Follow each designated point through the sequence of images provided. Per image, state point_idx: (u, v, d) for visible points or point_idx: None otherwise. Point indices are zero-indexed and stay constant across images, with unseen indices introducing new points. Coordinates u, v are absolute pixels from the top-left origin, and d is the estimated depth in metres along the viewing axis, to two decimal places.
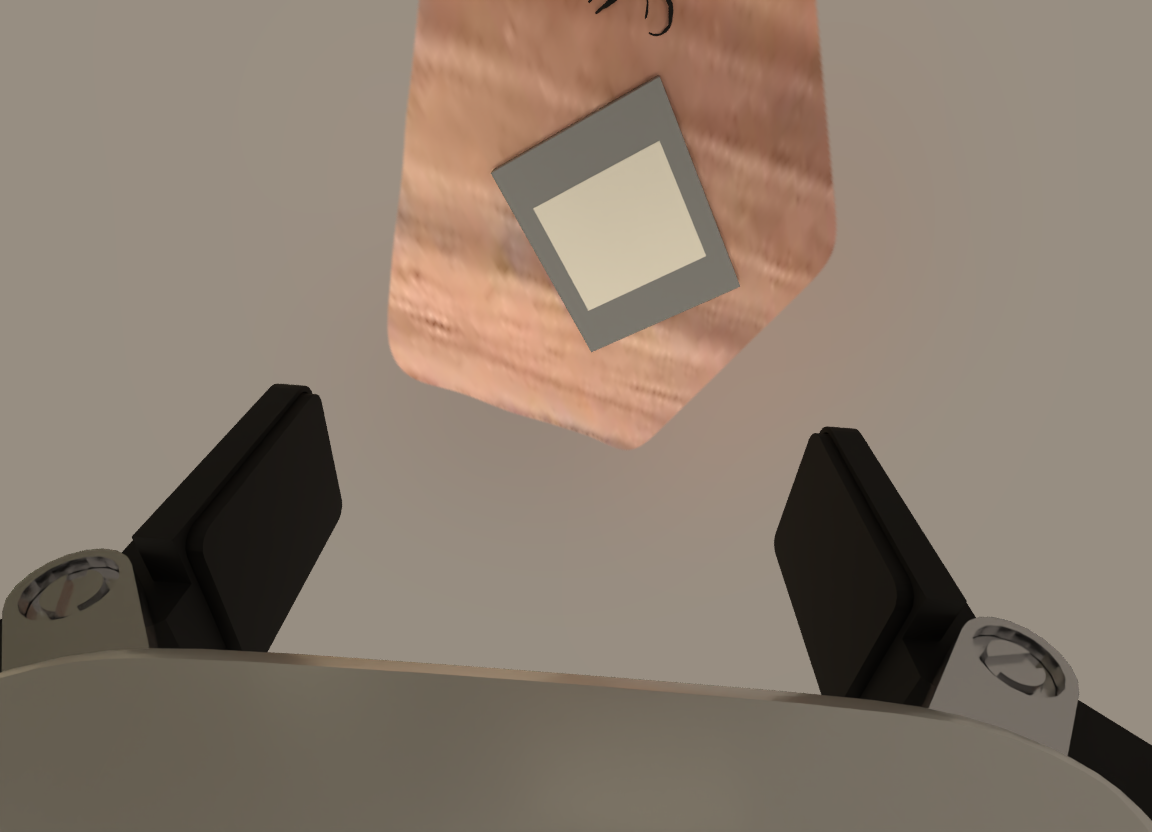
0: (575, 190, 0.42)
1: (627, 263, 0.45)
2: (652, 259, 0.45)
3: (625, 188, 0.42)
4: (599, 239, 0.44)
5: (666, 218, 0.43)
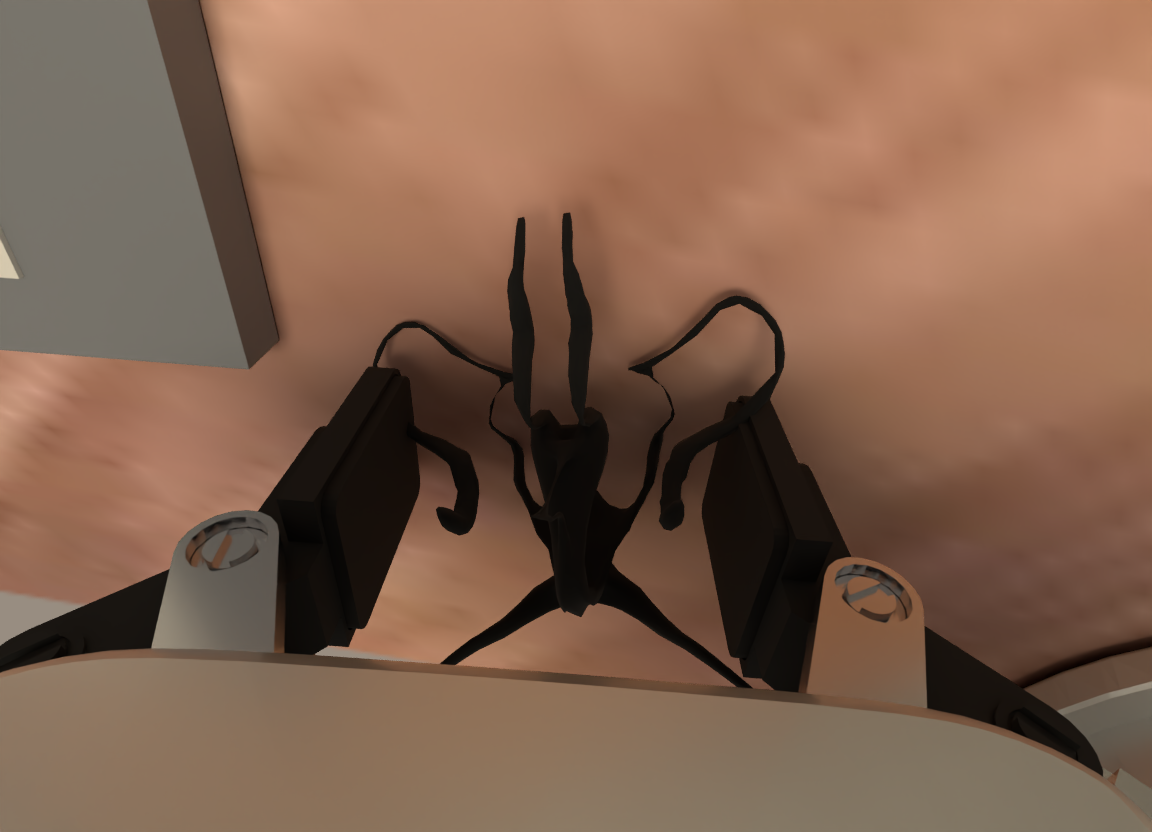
0: None
1: None
2: None
3: None
4: None
5: None
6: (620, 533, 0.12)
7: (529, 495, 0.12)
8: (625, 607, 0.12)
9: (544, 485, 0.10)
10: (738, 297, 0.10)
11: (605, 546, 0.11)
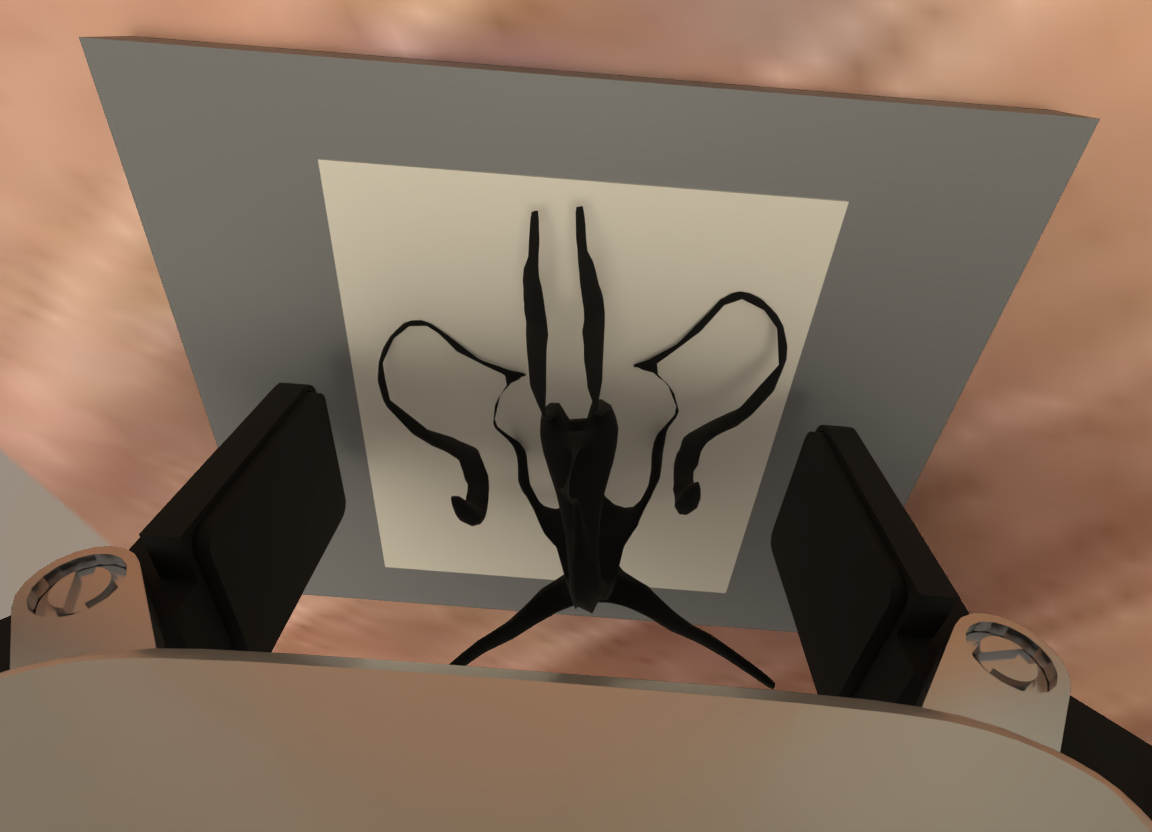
0: None
1: (456, 393, 0.12)
2: (436, 461, 0.13)
3: None
4: (583, 354, 0.12)
5: (536, 535, 0.15)
6: (629, 529, 0.11)
7: (534, 495, 0.12)
8: (635, 605, 0.11)
9: (555, 476, 0.10)
10: (741, 293, 0.11)
11: (614, 542, 0.11)
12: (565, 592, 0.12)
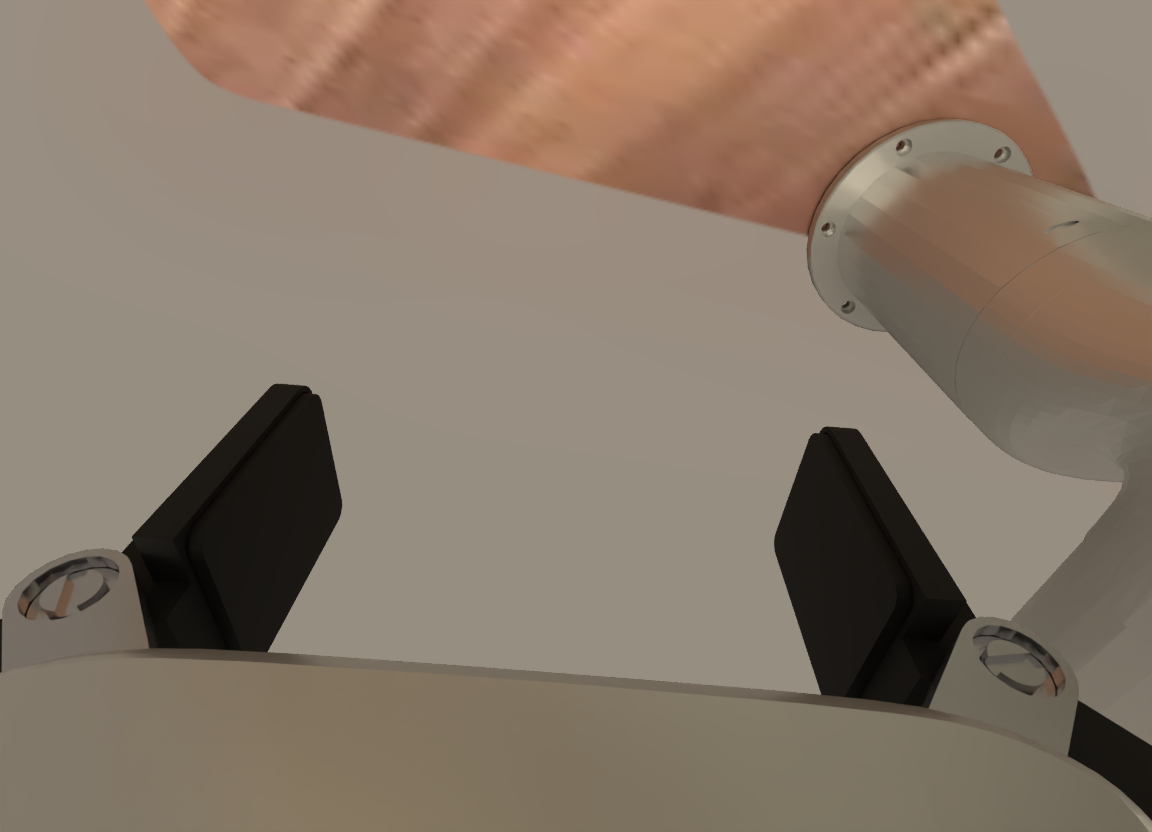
0: None
1: None
2: None
3: None
4: None
5: None
6: None
7: None
8: None
9: None
10: None
11: None
12: None
